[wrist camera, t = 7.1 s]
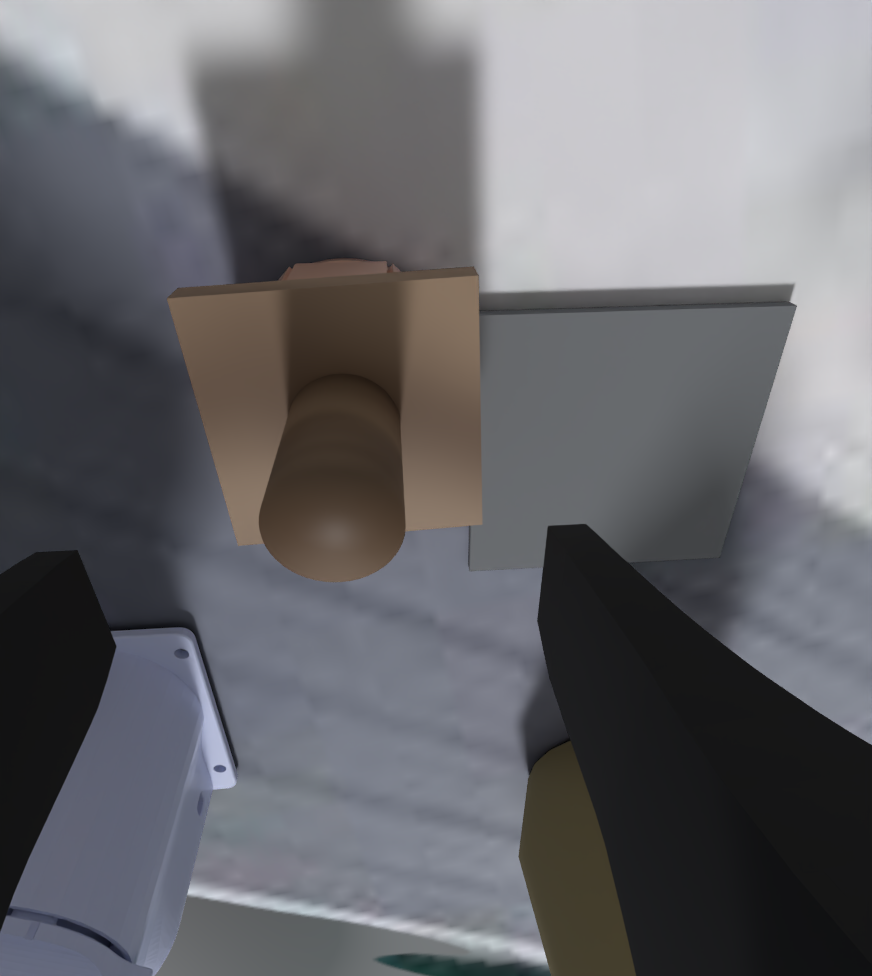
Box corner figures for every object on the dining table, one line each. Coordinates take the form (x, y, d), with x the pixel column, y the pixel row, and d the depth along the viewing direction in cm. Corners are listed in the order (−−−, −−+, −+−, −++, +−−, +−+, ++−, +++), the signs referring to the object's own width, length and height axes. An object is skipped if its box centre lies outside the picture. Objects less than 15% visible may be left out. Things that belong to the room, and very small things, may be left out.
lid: (478, 507, 17) (508, 636, 13) (243, 527, 17) (199, 665, 13) (473, 266, 13) (512, 339, 9) (177, 287, 13) (87, 372, 9)
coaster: (714, 550, 22) (719, 557, 22) (468, 564, 22) (469, 571, 21) (788, 301, 17) (796, 305, 17) (474, 311, 17) (476, 315, 17)
